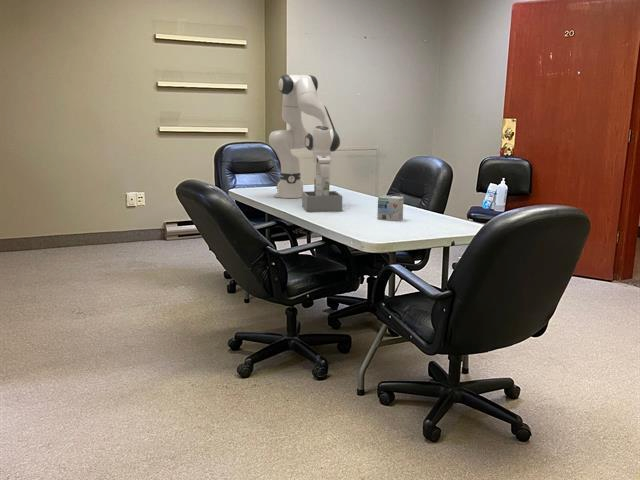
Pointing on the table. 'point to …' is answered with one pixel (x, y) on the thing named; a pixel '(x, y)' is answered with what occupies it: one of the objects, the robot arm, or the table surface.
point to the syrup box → (318, 188)
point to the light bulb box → (390, 208)
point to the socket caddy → (322, 202)
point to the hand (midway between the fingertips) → (321, 185)
